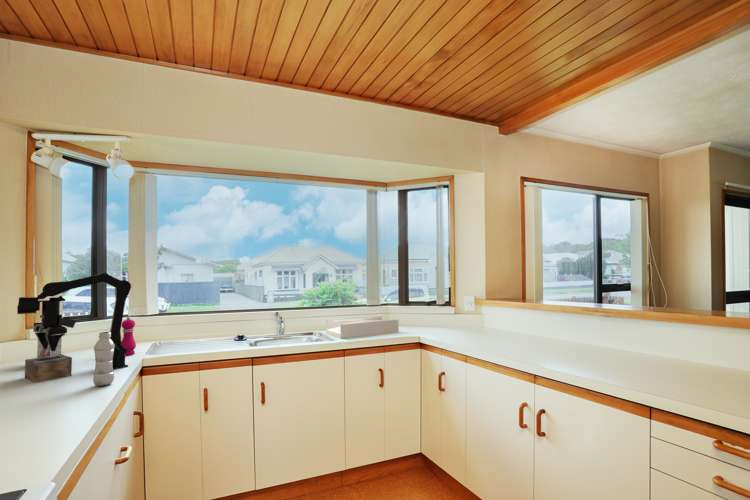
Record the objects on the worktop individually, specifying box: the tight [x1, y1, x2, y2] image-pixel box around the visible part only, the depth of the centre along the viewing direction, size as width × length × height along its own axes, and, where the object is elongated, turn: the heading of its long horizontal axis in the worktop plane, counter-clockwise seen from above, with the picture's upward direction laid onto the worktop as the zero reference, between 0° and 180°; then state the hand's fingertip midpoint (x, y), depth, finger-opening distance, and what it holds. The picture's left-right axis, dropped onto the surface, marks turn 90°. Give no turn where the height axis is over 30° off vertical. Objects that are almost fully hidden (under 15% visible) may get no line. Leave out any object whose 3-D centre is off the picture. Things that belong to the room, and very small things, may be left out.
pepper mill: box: [121, 316, 137, 357], centre depth 201 cm, size 7×7×20 cm
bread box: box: [325, 316, 400, 340], centre depth 265 cm, size 45×22×10 cm, turn 121°
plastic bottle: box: [92, 331, 115, 387], centre depth 147 cm, size 6×7×20 cm
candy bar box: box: [36, 337, 62, 358], centre depth 182 cm, size 11×5×16 cm, turn 65°
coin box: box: [24, 353, 73, 384], centre depth 159 cm, size 12×12×8 cm
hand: (49, 350), depth 160 cm, fingers open, 9 cm apart
